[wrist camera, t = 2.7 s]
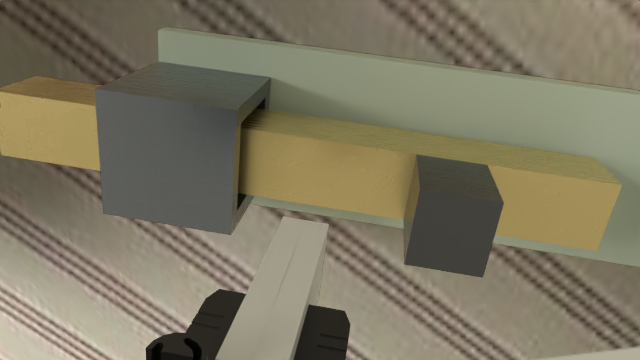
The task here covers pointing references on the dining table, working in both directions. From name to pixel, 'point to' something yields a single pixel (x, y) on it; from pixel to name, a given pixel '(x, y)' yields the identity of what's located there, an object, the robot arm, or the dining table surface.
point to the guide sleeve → (176, 144)
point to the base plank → (442, 114)
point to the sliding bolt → (362, 174)
